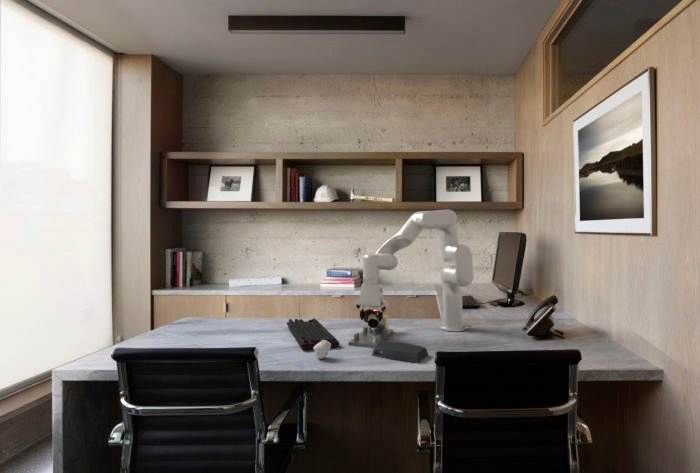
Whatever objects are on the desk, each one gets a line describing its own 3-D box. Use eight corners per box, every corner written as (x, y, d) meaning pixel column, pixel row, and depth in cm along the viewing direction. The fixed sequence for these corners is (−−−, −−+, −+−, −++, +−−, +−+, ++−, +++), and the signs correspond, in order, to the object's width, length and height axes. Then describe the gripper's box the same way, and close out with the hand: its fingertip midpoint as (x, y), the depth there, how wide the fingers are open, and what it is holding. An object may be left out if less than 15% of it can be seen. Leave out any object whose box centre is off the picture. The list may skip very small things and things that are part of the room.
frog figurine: (333, 359, 151) (333, 341, 151) (315, 362, 149) (315, 343, 149) (328, 355, 157) (328, 337, 157) (311, 357, 155) (311, 339, 155)
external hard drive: (385, 348, 167) (385, 338, 167) (429, 356, 157) (429, 345, 157) (370, 357, 156) (370, 346, 156) (416, 365, 146) (416, 354, 146)
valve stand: (393, 331, 193) (393, 308, 193) (377, 347, 166) (377, 321, 166) (368, 329, 198) (368, 307, 198) (348, 345, 171) (348, 319, 171)
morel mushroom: (378, 328, 170) (378, 315, 170) (363, 328, 170) (363, 315, 170) (377, 319, 187) (377, 307, 187) (363, 319, 188) (363, 307, 188)
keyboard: (339, 348, 167) (339, 337, 167) (301, 352, 162) (301, 340, 162) (317, 326, 208) (317, 316, 208) (286, 328, 203) (286, 318, 203)
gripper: (391, 281, 181) (391, 319, 181) (355, 279, 187) (355, 316, 187) (387, 283, 174) (387, 323, 174) (350, 281, 180) (350, 320, 180)
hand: (371, 319), depth 181 cm, fingers closed on morel mushroom, 7 cm apart
